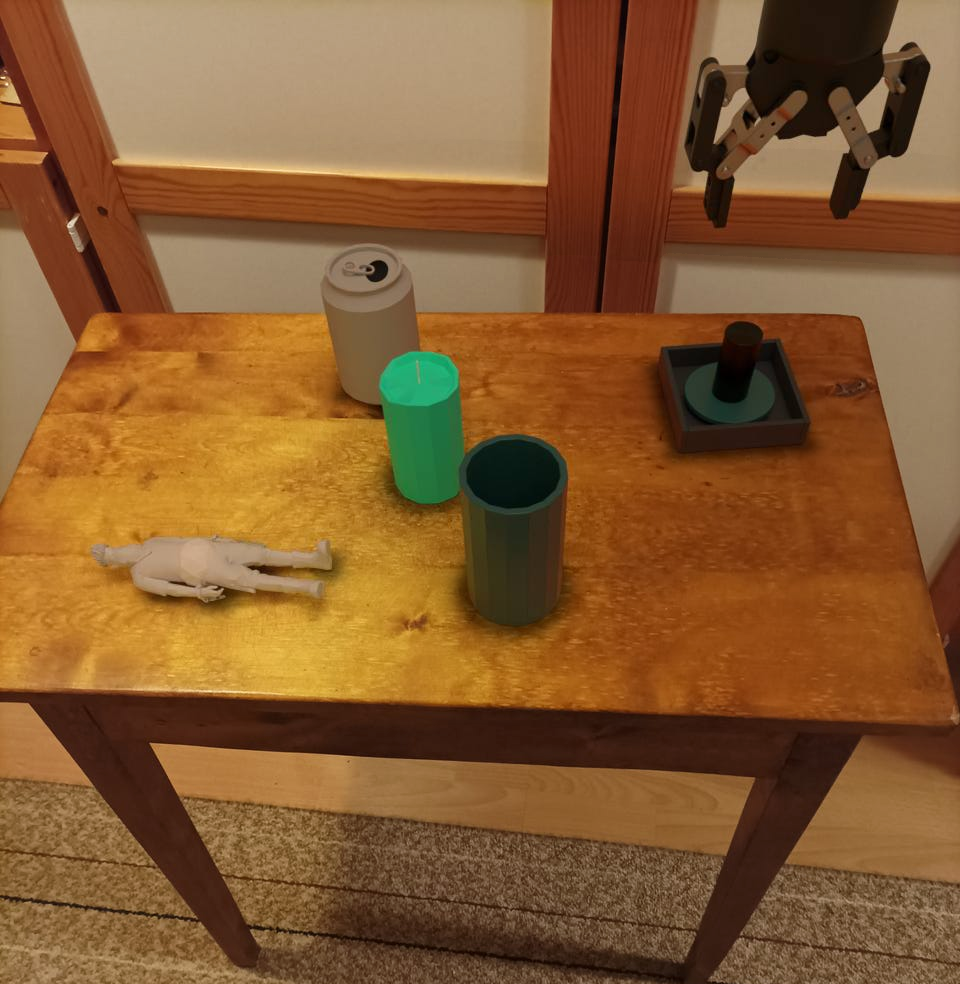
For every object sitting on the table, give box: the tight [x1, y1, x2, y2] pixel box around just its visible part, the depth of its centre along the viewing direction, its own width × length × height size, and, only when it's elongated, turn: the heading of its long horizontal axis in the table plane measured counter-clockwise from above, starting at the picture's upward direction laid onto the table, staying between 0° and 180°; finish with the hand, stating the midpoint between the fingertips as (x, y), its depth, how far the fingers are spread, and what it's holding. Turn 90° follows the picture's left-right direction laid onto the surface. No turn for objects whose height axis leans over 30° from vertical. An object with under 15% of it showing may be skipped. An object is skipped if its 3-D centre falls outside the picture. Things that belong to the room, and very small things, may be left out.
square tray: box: [657, 337, 812, 454], centre depth 78 cm, size 10×10×2 cm
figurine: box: [88, 534, 333, 603], centre depth 69 cm, size 7×4×18 cm
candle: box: [379, 351, 466, 505], centre depth 70 cm, size 6×6×12 cm
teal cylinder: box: [459, 433, 569, 627], centre depth 64 cm, size 7×7×12 cm
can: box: [320, 242, 422, 406], centre depth 77 cm, size 8×8×12 cm
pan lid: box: [684, 320, 775, 425], centre depth 75 cm, size 8×8×7 cm
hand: (777, 217), depth 64 cm, fingers open, 8 cm apart
